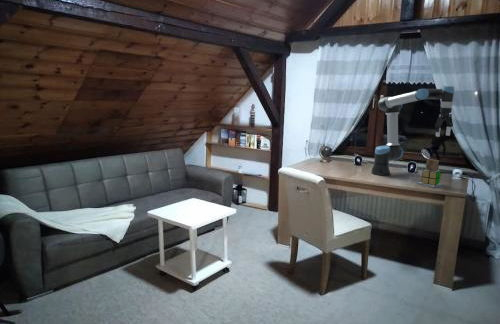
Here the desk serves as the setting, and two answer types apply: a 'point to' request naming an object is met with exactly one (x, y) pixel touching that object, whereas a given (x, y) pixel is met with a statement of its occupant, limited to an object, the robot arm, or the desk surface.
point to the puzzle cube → (430, 177)
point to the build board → (430, 185)
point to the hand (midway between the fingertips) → (442, 136)
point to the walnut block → (432, 165)
